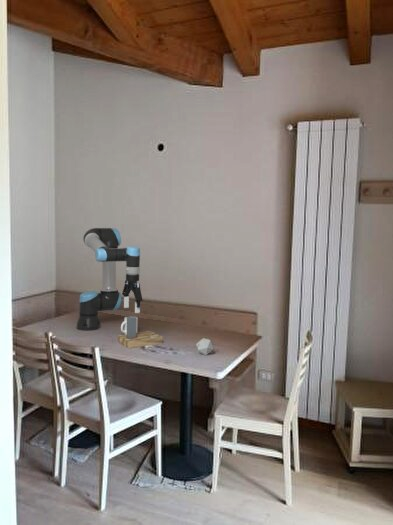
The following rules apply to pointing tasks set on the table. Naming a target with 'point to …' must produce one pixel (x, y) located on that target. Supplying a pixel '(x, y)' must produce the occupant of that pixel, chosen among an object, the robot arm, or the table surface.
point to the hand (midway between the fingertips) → (131, 310)
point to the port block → (141, 339)
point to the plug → (131, 327)
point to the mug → (126, 325)
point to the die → (204, 346)
